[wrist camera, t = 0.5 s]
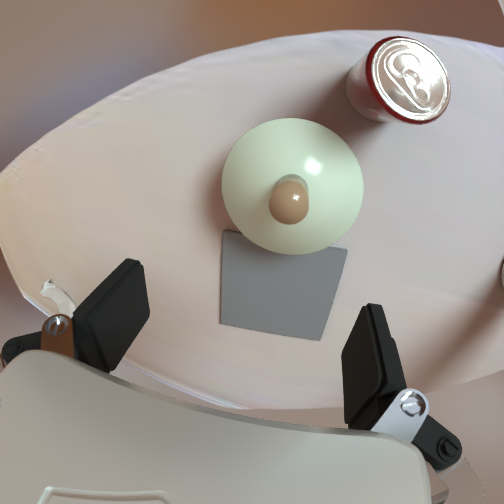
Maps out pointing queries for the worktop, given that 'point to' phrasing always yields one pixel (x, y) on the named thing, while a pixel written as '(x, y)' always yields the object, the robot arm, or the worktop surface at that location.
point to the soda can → (399, 83)
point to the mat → (278, 288)
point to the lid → (292, 186)
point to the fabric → (59, 298)
